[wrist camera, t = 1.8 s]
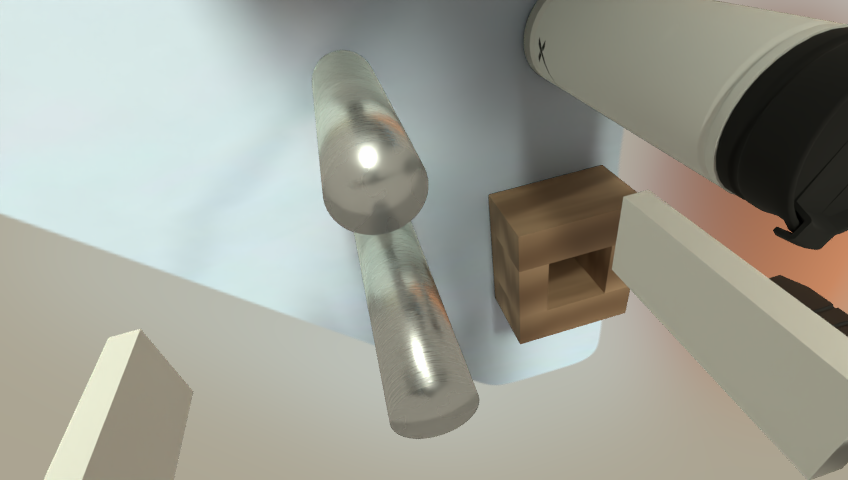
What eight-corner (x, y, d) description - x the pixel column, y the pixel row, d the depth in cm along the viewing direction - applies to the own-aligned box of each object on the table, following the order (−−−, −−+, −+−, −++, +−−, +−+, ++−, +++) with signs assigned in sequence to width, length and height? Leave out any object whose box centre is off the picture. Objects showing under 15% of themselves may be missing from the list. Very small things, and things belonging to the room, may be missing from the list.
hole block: (488, 194, 35) (518, 236, 30) (602, 164, 36) (648, 201, 31) (495, 297, 42) (520, 344, 37) (589, 270, 43) (625, 312, 38)
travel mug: (502, 64, 29) (748, 230, 13) (556, -44, 26) (959, 5, 10) (571, 96, 31) (845, 267, 16) (627, 2, 28) (1035, 97, 13)
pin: (303, 58, 26) (307, 156, 15) (367, 43, 26) (419, 129, 15) (322, 121, 28) (339, 245, 17) (381, 107, 29) (434, 220, 18)
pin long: (342, 185, 31) (380, 400, 17) (395, 172, 32) (475, 371, 18) (355, 229, 34) (399, 448, 20) (405, 216, 34) (482, 422, 20)
